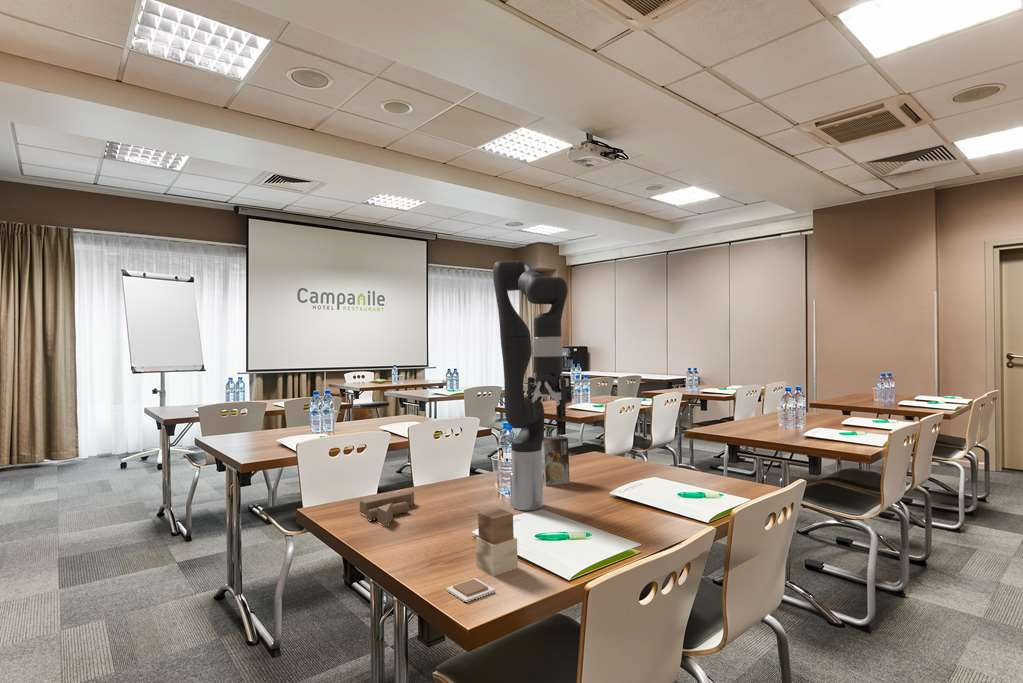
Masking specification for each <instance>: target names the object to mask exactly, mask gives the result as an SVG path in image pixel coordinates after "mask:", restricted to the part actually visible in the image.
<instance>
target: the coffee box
mask: <svg viewBox="0 0 1023 683" xmlns="http://www.w3.org/2000/svg"><path fill="white" fill-rule="evenodd" d="M569 452H570V451H569V438H568V437H566V436H563V435H559V436H558V435H555V436H544V439H543V442H542V485H544V486H545V487H549V486H559V485H561V486H562V485H568V484H570V481H571V480H570V478H571V477H570V457H569V454H570V453H569Z"/></svg>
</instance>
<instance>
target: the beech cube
mask: <svg viewBox="0 0 1023 683" xmlns="http://www.w3.org/2000/svg"><path fill="white" fill-rule="evenodd" d="M475 557H476V558H475V559H476V560H475V561H476V562H475V563H476V565H475V566H476V568H478V569H479V570H481V571H483V572H485V573H487V574H489V575H490V576H492V577H495V576H499V575H502V574H505V573H507V572H510V571H513V570H517V569H518V568H519V567H518V562H519V561H518V538H517V537H515V536H514V539H510V540H507V541H504V542H500V543H497V544H494V545H493V544H491V543H489V542H487V541H485V540H482V539H480V538H479V536H476V537H475Z"/></svg>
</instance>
